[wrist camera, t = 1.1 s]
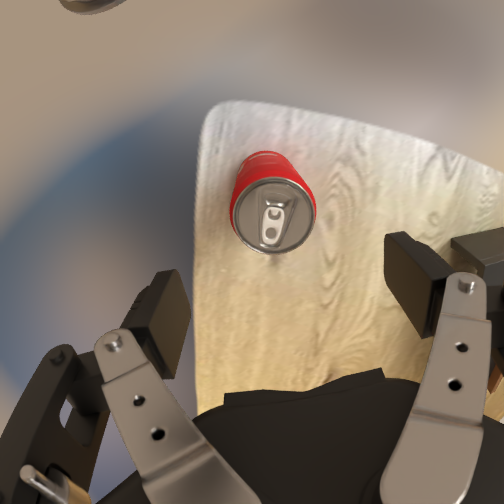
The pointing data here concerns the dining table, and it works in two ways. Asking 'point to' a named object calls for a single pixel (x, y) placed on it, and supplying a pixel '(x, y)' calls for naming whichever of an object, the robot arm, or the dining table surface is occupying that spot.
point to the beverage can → (271, 205)
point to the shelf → (485, 271)
